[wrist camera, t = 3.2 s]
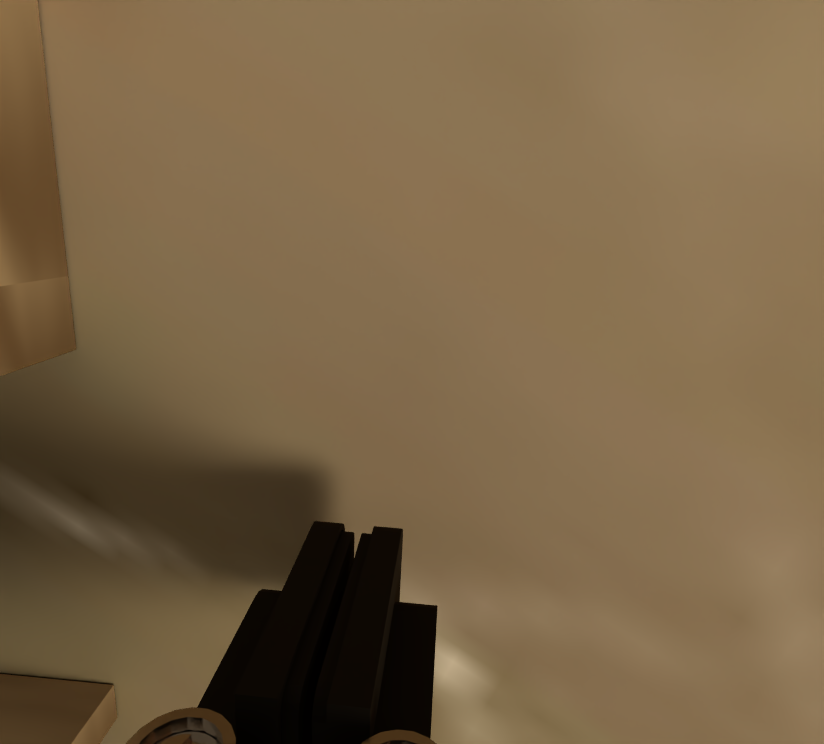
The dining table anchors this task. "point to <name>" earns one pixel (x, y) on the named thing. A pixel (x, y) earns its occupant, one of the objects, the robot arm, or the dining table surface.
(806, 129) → the dining table surface
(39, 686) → the channel
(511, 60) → the dining table surface
